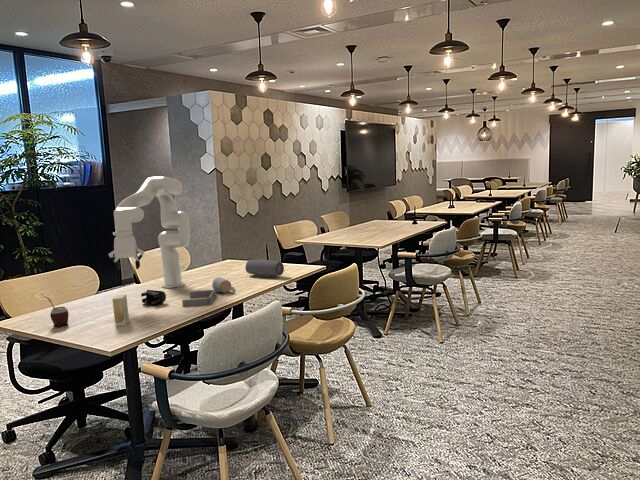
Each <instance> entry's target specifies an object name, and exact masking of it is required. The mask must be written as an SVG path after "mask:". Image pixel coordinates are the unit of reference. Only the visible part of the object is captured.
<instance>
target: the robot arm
mask: <svg viewBox="0 0 640 480" xmlns="http://www.w3.org/2000/svg"><path fill="white" fill-rule="evenodd" d="M182 192H183V184H182V183H181V181H180V180H178V179H176V178H173V177H169V176H163V175H162V176H150V177H147V178H146V179H145V180H144V181H143V183H142V184H141V185H140V187H139V189H138V190H137V191H136V192H135V193H133V194H131V195H130V196H128V197H126V198H125V199H122V201H120V202H119V203H118V205H117V206H116V208H115V209H114V210H113V217H114V218H113V219H114V229H115V232H112V235H113V236H115V237H114V239H113V250H112V251H111V252H109V253H108V256H109V258H110V259H111V260H112V261H113V262H114V264H115V269H116V271H119V270H121V262H120V261H119V260H120V259H127V258H133V259H134V260H135V261H134V264H135V269H136V270H138V269H140V267H141V263H140V260H141V259H142V258H143V256H144V254H145V251H144V250H142V249H140V248H138V246H137V245H138V244H137V241H136V238H135V236H134V234H133V226H132V223H139V222H141V221H142V220H143V219H144V217H145V212H144V210H143V209H142V208H143V207H145V206H148V205H149V204H151V203H152V201H153V200H154V198H155V197H156V198H157V199H158V202H159V204H160V224H161V227H162V228H164V229H178V230H165V231H164V230H163V231H162V232H160V233H159V234H158V237H157V240H158V245H159V247H160V252H161V261H162V272H163V280H164V283H162V284H161V287H162V288H165V289H167V288H168V289H174V288H178V287H183V286H184V285H185V283H186V282H185V281H183V280H182V279H183V278H182V273H181V272H182V270H181V269H182V268H181V261H180V253H179V252H178V250H177V248H186V247H188V246H189V244H190V240H191V237H190V236H191V232H190V230H191V229H190V226H191V225H190V224H191V223H190V217H189V216H190V215H189V214H188V213H187V212H186V211H183V210H179V211H177V201H176V200H175V198H174V197H173V196H178V195H180V194H181V193H182ZM139 253H140V254H139Z"/></svg>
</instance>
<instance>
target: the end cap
mask: <svg viewBox="0 0 640 480" xmlns="http://www.w3.org/2000/svg"><path fill="white" fill-rule="evenodd" d="M140 295H141V296H140V297H141V298H142V297H144V298H142V299H141V302H142V305H143V306H146V307H147V306H148V307H158V306H161V305H162V304H164V302H165V301H166V299H167V294H166V292H165V291H163V290H155V289H154V290H153V289H146V291H144V292H142V293H141V294H140Z"/></svg>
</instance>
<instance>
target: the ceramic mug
mask: <svg viewBox="0 0 640 480" xmlns="http://www.w3.org/2000/svg"><path fill="white" fill-rule="evenodd" d="M212 290H215V291H216V292H218V293H222V294H227V293H228V292H230V291H235V287H233V286H232V283H231V282H230V280H228V279H226V278H224V277H220V276H218V277H216V278H214V279H213V281H212Z"/></svg>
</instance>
